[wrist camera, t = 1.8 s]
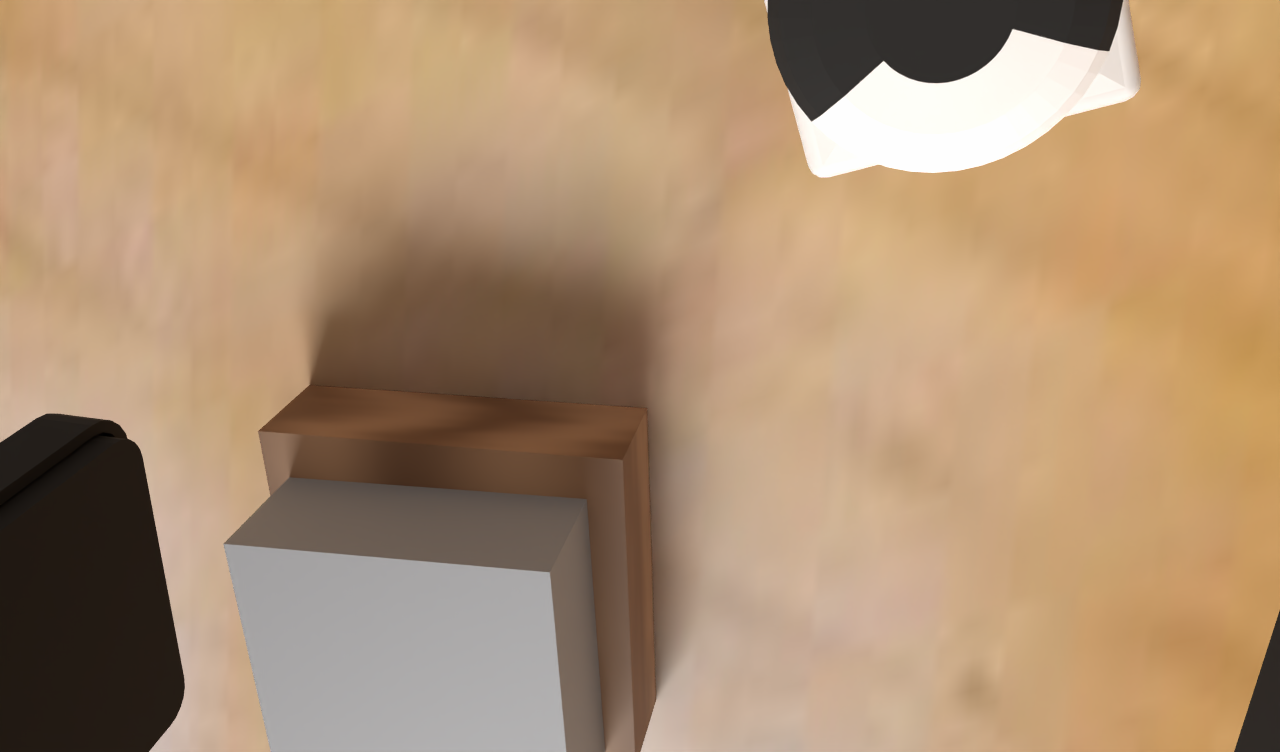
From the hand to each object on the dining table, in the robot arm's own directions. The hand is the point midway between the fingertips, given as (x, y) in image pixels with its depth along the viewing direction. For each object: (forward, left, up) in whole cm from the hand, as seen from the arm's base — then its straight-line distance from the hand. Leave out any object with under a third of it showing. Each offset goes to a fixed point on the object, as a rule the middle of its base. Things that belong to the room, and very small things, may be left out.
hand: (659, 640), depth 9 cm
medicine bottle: (-2, -3, -26) cm, 26 cm away
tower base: (+12, +17, -26) cm, 33 cm away
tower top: (+12, +17, -22) cm, 30 cm away
